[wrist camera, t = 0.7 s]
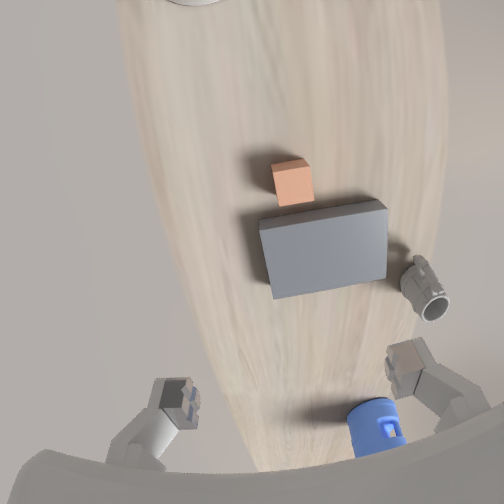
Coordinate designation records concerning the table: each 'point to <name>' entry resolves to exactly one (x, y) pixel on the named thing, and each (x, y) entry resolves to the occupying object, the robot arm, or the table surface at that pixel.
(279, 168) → the cube
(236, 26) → the table surface
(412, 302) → the mug
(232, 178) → the table surface
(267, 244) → the stand
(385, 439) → the water jug
